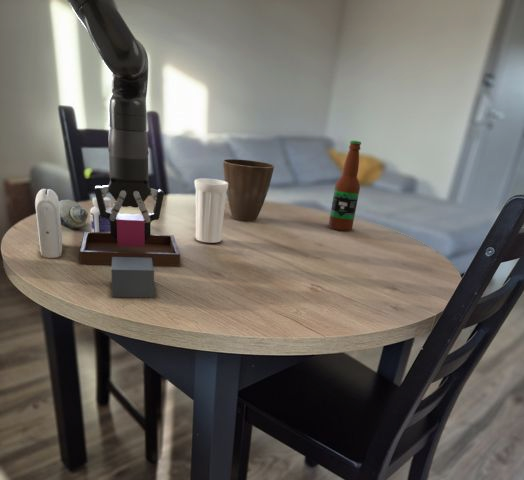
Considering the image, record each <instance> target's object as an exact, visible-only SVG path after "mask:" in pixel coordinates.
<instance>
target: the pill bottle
mask: <svg viewBox="0 0 524 480" xmlns="http://www.w3.org/2000/svg"><path fill="white" fill-rule="evenodd" d="M104 203H105V207H106V211H109V212H111V210H112V208H113V207H111V206H112V198H111V197H107V196H106V197H104ZM89 210H90V212H89V213H90V227H91V232H103V233H110V221H109V219H107V218H102V217H101V216H100V212H99V208H98V203H97V199H96V196H93V197H92V207H91V208H90V209H89Z"/></svg>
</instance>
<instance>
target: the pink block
mask: <svg viewBox="0 0 524 480" xmlns="http://www.w3.org/2000/svg"><path fill="white" fill-rule="evenodd" d="M116 219H117V245H118V246H137V247H145V238H144V217H143V215H142V213H140V214H139V213H121V212H118V215H117V217H116Z"/></svg>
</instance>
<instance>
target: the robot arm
mask: <svg viewBox="0 0 524 480" xmlns="http://www.w3.org/2000/svg"><path fill="white" fill-rule="evenodd" d="M66 1H67V3H68V4H69V5H70V7H71V8H72V10H73V12H74V13H75V15H76V17H77V18H78V19H79V21H80V22H81V23H82V25H83V26H84V28H85V29H86V32H87V34H88V36H89V38H90V40H91V41H92V44H93V46H94V47H95V49H96V52H97V53H98V55H99V56H100V58H101V60H102V62H103V64H104V65H105V66H106V68H107V69H108V70H109V72H111V94H110V97H109V99H108V127H109V128H108V148H107V150H108V162H109V182H108V184H107V185H102V186H101V185H95V186H94V195H95V197H96V199H97V203H98V208H99V212H100V216H101V217H102V218H107V219H109V221H110V233H111V236H114V239H117V215H118V213H120V210H121V209H122V208H128V207H132V208H139V211H140V214H142V215H143V217H144V238H145V240H147V237H150V235H151V229H152V228H151V225H152V224H151V223H152V222H153V221H158V220H160V216H161V211H162V205H163V202H164V195H165V193H164V190H162V189H161V188H159V189H155V188H151V186H150V184H149V155H150V152H149V140H148V132H147V131H148V119H147V118H148V117H147V115H148V114H147V113H148V112H147V93H148V84H149V83H148V82H149V57H148V52H147V50H146V48H145V46H144V45H143V44H142V43H141V41H140V40H138V39H136V37H135V35H134V33H133V32H132V31H131V29H130V28H129V26H128V25H127V23H126V21H125V19H124V18H123V16H122V14H121V13H120V12H119V9H118V5H117V2H116V0H66ZM107 193H110V195H111V196H112V197H113V199H114V203H113V205H112V207H111V208H112V210H111V212H109V211H106V207H105V203H104V197H107ZM150 195H152V199H153V201H154V206H153V209H152V210H153V211H152V213H149V211H148V208H147V205H146V204H145V201H146V200H147V198H148V197H149V196H150Z"/></svg>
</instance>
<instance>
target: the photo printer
mask: <svg viewBox="0 0 524 480" xmlns="http://www.w3.org/2000/svg"><path fill="white" fill-rule="evenodd" d="M59 201H60V200H59V196H58V194H57V193H56V192H55V191H54V190H53V189H51V188H48V189H47V188H41V189H40V190H38V192H37V193H36V196H35V201H34V206H35V215H36V224H37V225H36V226H37V233H38V243H39V251H40V254H41V256H42V257H44V258H48V259H56V258H59V257H61V256H62V253H63V234H62V232H63V231H62V225H61V220H60V210H59Z"/></svg>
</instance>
